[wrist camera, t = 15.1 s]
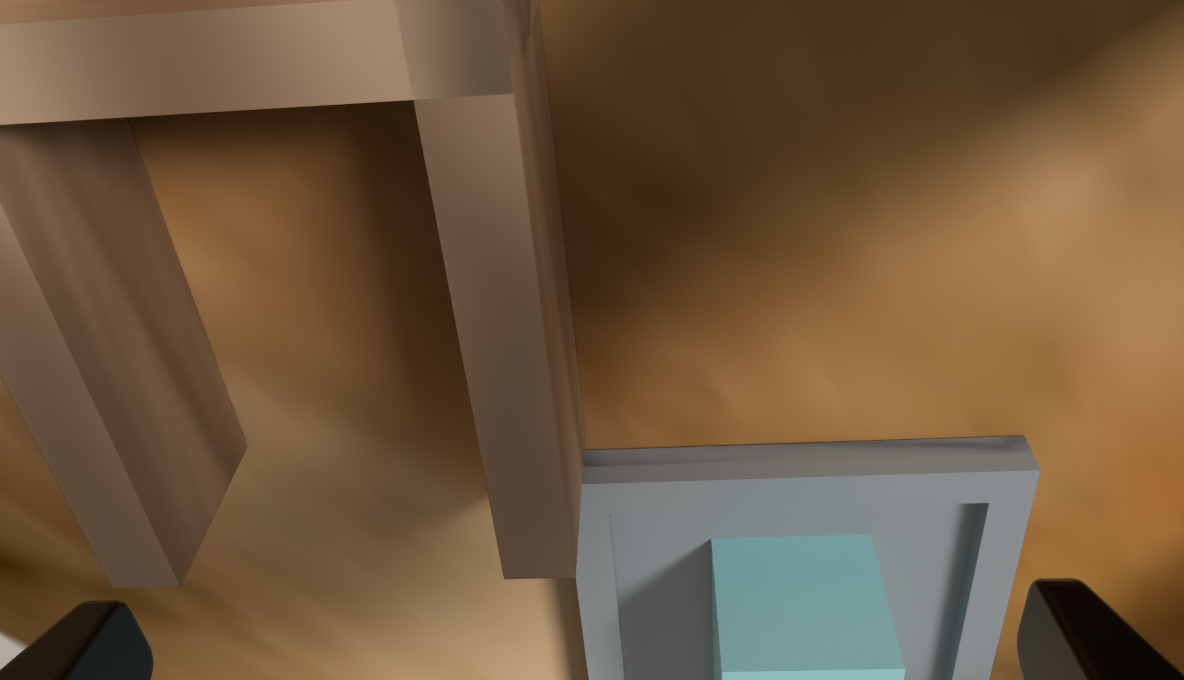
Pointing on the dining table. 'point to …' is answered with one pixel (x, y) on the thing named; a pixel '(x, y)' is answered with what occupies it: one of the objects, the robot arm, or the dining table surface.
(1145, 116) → the dining table surface
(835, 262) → the dining table surface
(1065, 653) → the robot arm
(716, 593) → the block
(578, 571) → the tray
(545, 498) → the bay
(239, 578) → the dining table surface
